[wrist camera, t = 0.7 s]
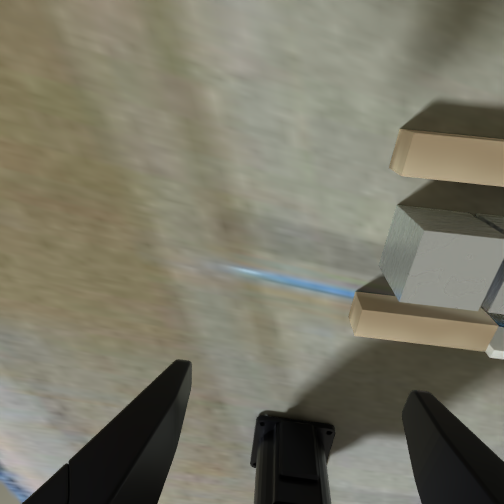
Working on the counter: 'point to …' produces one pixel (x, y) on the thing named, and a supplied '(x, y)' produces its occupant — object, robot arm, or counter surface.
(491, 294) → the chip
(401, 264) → the block
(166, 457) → the robot arm
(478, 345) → the slot rails
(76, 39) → the counter surface
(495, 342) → the chip tray
